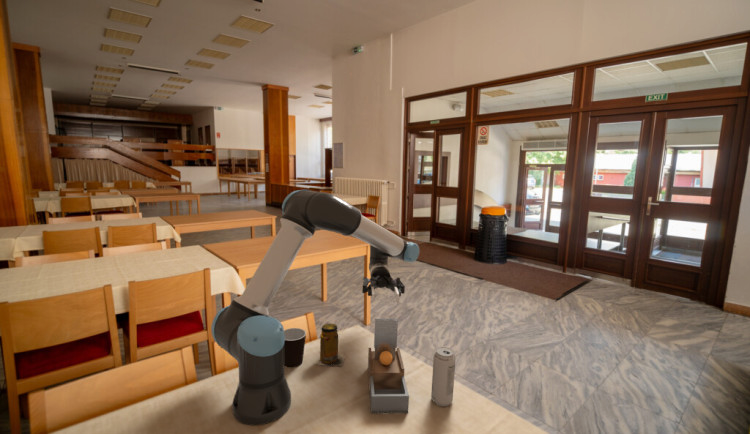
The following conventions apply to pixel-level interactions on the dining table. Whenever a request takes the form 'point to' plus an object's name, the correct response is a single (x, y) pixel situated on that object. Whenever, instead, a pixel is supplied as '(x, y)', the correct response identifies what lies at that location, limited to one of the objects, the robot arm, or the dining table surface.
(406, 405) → the grey open box
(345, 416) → the dining table surface
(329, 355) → the condiment
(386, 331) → the gray rectangular panel
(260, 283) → the robot arm
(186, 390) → the dining table surface
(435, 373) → the energy drink can
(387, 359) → the ball
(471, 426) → the dining table surface
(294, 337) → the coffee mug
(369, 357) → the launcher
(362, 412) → the dining table surface
